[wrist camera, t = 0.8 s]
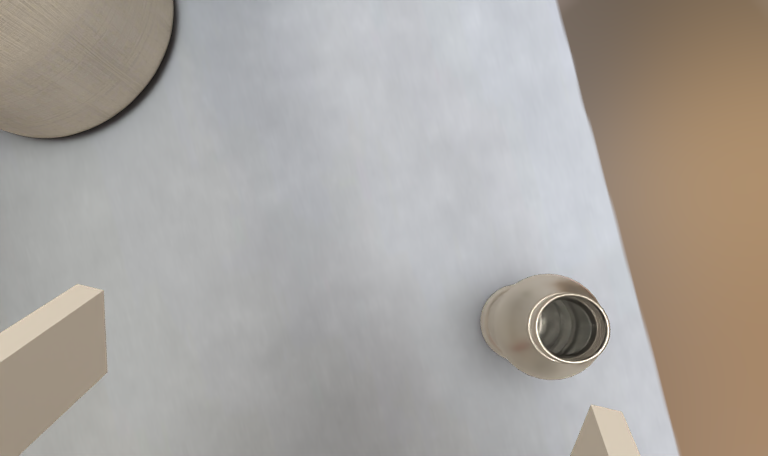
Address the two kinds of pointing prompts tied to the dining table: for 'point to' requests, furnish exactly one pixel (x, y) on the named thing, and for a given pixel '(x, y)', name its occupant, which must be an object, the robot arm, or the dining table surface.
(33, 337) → the robot arm
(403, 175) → the dining table surface
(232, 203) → the dining table surface
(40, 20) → the planter
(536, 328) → the plastic bottle
